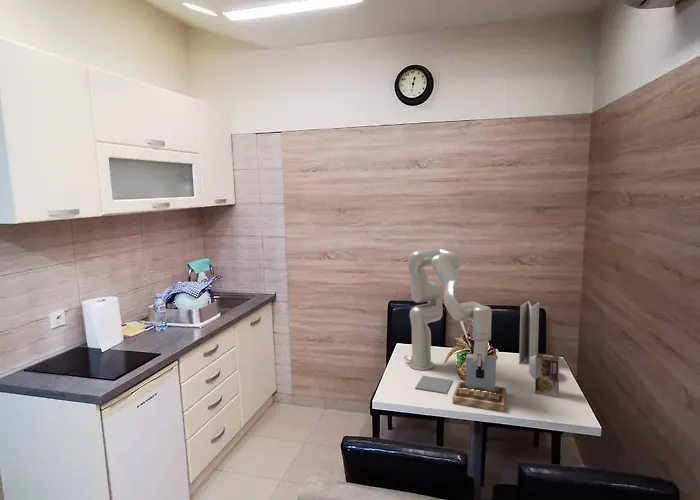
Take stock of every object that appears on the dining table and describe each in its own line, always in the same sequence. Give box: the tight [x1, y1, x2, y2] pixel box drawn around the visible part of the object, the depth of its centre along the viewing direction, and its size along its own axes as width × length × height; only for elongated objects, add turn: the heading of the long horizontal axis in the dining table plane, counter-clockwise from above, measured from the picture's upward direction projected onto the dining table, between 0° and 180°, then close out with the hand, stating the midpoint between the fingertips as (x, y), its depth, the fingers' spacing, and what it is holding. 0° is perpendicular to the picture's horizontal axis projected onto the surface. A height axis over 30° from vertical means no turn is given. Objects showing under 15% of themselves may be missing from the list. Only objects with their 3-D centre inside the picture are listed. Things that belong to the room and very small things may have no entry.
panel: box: [465, 353, 497, 390], centre depth 182 cm, size 12×4×13 cm, turn 66°
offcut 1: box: [458, 389, 471, 398], centre depth 178 cm, size 4×4×4 cm
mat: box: [414, 375, 453, 395], centre depth 193 cm, size 14×14×1 cm
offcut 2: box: [472, 391, 485, 401], centre depth 176 cm, size 4×4×4 cm
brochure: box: [518, 300, 540, 364], centre depth 218 cm, size 14×6×30 cm, turn 143°
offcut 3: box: [487, 393, 501, 403], centre depth 173 cm, size 4×4×4 cm
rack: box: [452, 380, 507, 413], centre depth 179 cm, size 20×16×3 cm
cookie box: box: [534, 352, 560, 398], centre depth 182 cm, size 9×6×16 cm
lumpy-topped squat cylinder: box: [528, 355, 537, 379], centre depth 200 cm, size 10×13×9 cm
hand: (480, 375), depth 182 cm, fingers closed on panel, 4 cm apart
